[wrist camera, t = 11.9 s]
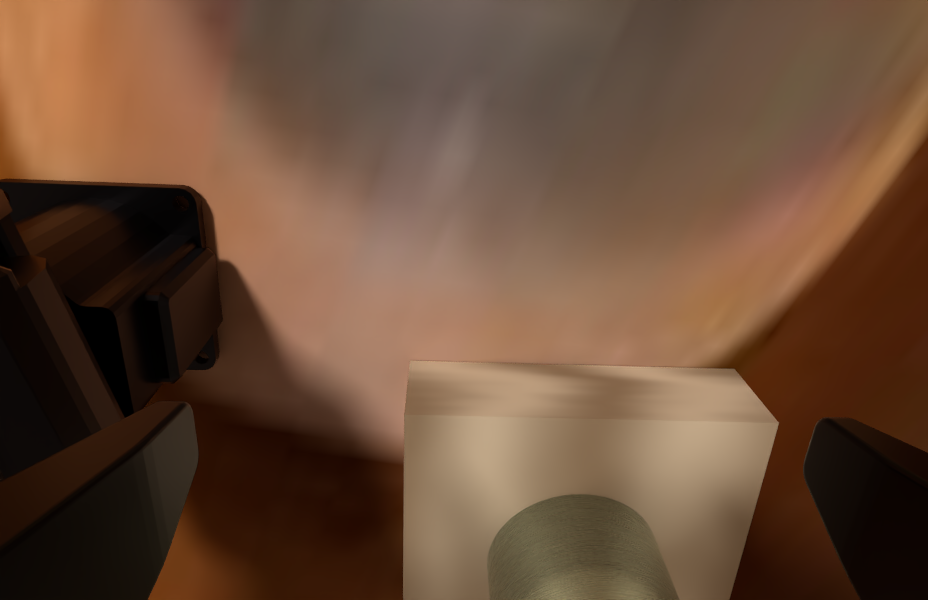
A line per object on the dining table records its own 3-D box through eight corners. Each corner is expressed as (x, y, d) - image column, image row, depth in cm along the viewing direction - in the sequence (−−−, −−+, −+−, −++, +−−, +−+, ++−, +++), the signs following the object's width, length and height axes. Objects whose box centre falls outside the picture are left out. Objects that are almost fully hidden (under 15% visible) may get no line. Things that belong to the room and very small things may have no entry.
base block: (407, 602, 28) (402, 676, 25) (410, 360, 24) (404, 414, 20) (678, 605, 29) (707, 678, 26) (734, 369, 24) (778, 423, 21)
